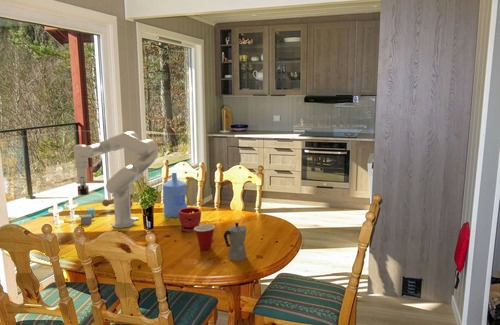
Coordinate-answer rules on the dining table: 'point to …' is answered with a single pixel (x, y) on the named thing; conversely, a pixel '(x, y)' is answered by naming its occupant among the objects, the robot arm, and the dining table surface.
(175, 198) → the water jug
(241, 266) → the dining table surface
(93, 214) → the teal block
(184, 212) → the plant pot
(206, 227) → the plastic cup
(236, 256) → the coffeepot
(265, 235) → the dining table surface
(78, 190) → the walnut block
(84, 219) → the base block
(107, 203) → the toy helicopter
